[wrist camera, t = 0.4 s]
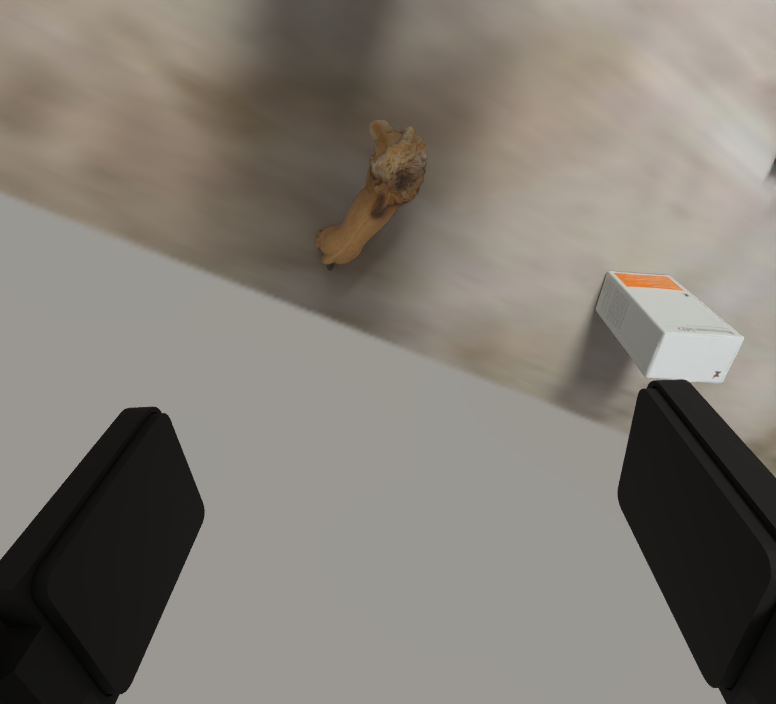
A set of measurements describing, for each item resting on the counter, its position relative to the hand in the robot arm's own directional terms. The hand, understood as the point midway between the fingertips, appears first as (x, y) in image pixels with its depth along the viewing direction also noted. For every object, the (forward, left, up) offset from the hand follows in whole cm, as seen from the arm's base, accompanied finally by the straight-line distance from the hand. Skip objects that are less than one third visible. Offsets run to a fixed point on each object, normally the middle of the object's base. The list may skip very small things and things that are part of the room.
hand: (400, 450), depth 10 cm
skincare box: (+11, +22, -36) cm, 43 cm away
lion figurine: (+3, -3, -36) cm, 36 cm away
